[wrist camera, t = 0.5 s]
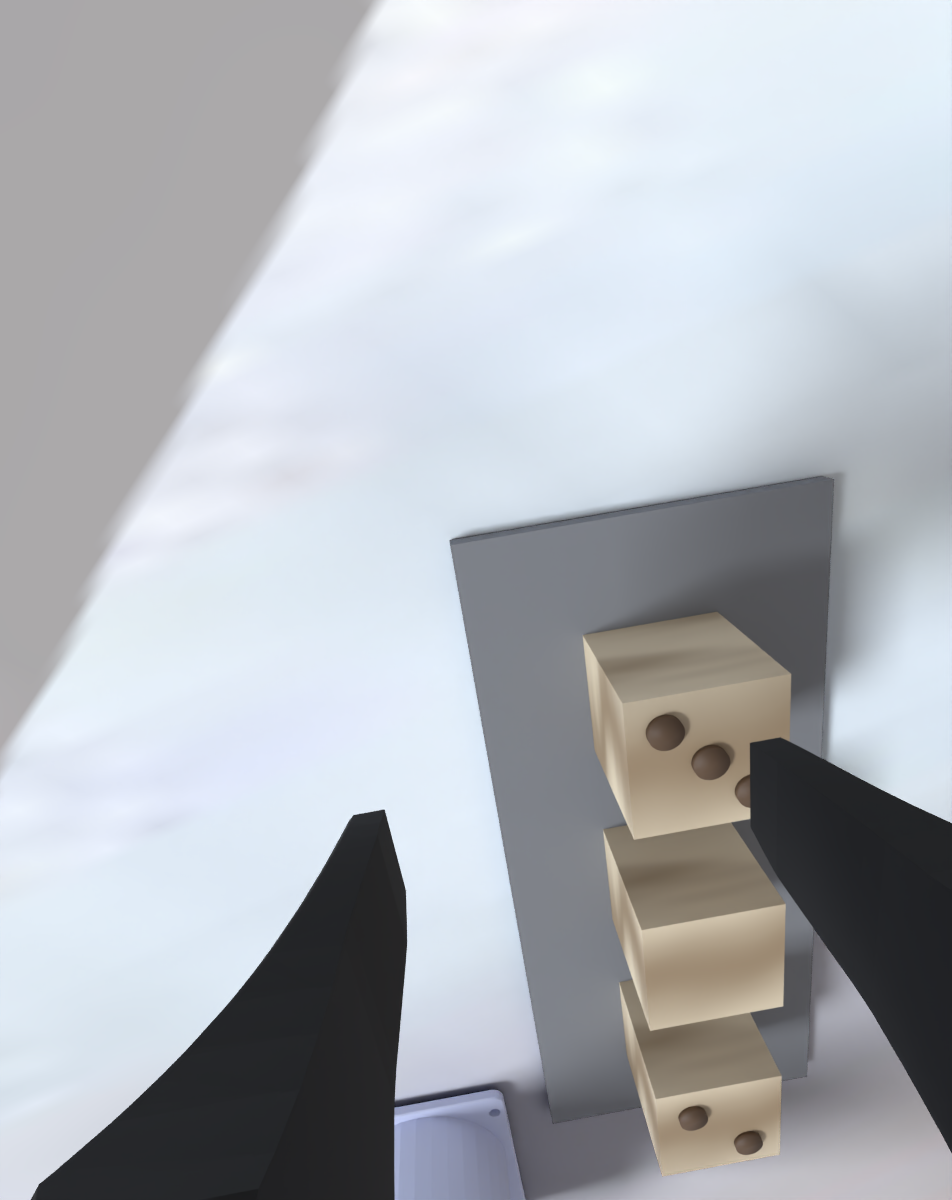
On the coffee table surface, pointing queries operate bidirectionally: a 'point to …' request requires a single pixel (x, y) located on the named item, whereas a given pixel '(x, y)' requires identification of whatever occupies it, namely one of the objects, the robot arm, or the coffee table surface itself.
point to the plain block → (696, 924)
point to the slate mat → (566, 746)
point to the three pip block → (682, 719)
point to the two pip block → (703, 1088)
